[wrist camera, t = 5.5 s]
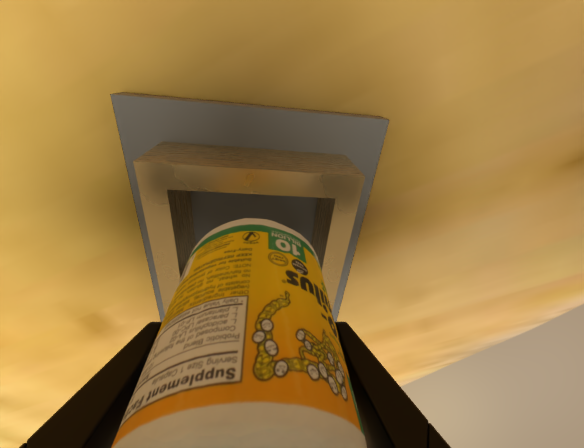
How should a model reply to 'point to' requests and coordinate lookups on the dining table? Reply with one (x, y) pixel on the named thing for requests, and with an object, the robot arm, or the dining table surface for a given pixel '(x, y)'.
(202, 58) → the dining table surface
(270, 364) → the supplement bottle
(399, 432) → the robot arm
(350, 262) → the fitting board
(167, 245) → the square wooden frame
